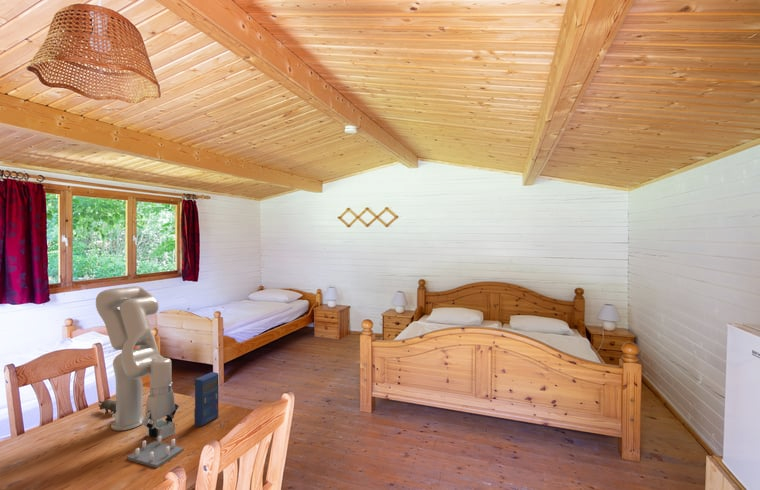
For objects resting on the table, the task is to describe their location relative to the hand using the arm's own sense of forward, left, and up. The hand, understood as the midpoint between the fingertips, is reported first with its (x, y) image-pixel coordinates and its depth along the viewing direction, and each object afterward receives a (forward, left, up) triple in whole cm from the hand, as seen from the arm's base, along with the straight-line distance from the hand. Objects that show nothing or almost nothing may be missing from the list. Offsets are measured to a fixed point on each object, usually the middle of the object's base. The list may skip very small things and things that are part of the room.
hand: (160, 432), depth 145 cm
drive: (0, 0, -1) cm, 1 cm away
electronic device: (+9, +15, -1) cm, 17 cm away
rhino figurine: (-40, +6, -1) cm, 41 cm away
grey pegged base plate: (+11, -11, -1) cm, 16 cm away
